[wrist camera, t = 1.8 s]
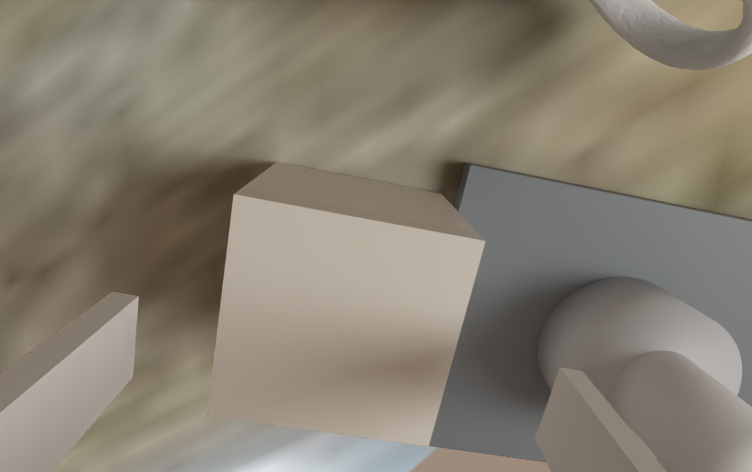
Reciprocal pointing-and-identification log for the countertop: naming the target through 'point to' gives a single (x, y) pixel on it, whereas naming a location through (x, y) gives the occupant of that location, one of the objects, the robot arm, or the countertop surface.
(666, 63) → the mug
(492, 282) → the post base
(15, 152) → the countertop surface
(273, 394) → the cream cube block
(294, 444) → the countertop surface
